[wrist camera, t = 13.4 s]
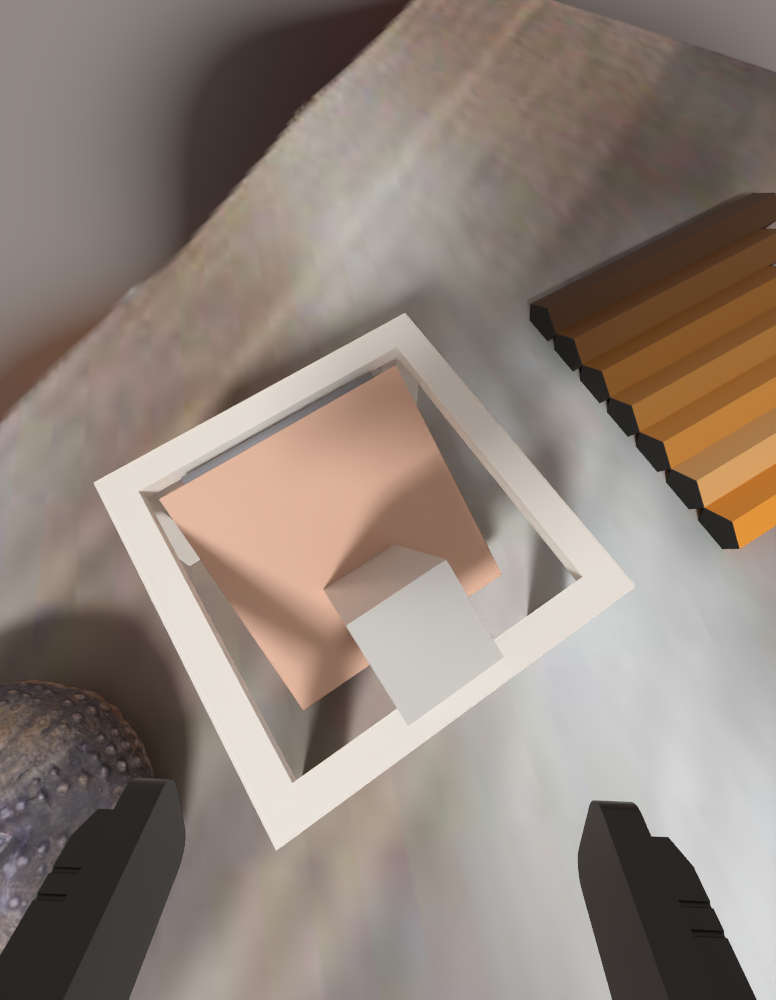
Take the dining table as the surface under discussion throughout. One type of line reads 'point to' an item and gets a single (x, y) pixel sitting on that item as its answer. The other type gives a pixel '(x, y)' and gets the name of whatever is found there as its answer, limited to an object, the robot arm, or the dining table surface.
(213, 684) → the white four-legged frame
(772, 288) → the pan flute
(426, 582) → the grey upright block
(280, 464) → the trapdoor
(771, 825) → the dining table surface
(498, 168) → the dining table surface
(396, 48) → the dining table surface
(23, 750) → the sea urchin shell
